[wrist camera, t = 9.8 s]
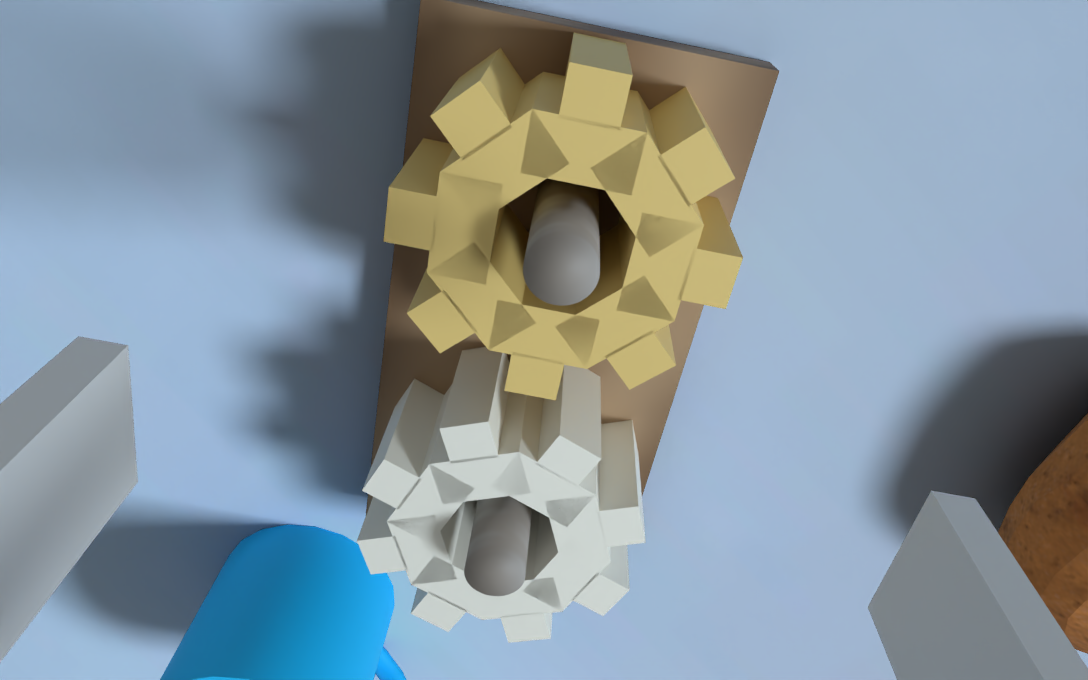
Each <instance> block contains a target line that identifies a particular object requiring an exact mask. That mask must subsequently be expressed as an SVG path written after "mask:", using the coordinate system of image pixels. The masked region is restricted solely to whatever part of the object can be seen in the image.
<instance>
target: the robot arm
mask: <svg viewBox="0 0 1088 680" xmlns="http://www.w3.org/2000/svg"><path fill="white" fill-rule="evenodd" d="M137 482H138V478H137V464H136V450H135V436H134V422H133V408H132V394H131V380H130V366H129V352H128V345H123V344H118V343H112V342H107V341H101V340H95V339H90V338H84V337H79V336H78V337H77V338H76V339H75V340H74V341H72V342H71V343H70V344H69V345H68V346H67V347H65V348H64V349H63V350H62V351H61V352H60V353H59V354H57V355H56V356H55V357H54V358H53V359H52V360H50V361H49V362H48V363H47V364H46V365H45V366H44V367H42V368H41V369H40V370H39V371H38V372H37V373H35V374H34V375H33V376H32V377H31V378H30V379H29V380H27V381H26V382H25V383H24V384H23V385H22V386H21V387H19V388H18V389H17V390H16V391H15V392H14V393H12V394H11V395H10V396H9V397H8V398H7V399H6V400H4V401H3V402H2V403H1V404H0V662H1V661H2V660H3V658H4V657H5V656H6V655H7V653H8V652H9V651H10V649H11V648H12V647H13V645H14V644H15V643H16V641H17V640H18V639H19V637H20V636H21V635H22V633H23V632H24V631H25V630H26V628H27V627H28V626H29V624H30V623H31V622H32V620H33V619H34V618H35V616H36V615H37V614H38V612H39V611H40V610H41V609H42V607H43V606H44V605H45V603H46V602H47V601H48V599H49V598H50V597H51V595H52V594H53V593H54V591H55V590H56V589H57V588H58V586H59V585H60V584H61V582H62V581H63V580H64V578H65V577H66V576H67V574H68V573H69V572H70V570H71V569H72V568H73V566H74V565H75V564H76V563H77V561H78V560H79V559H80V557H81V556H82V555H83V553H84V552H85V551H86V549H87V548H88V547H89V545H90V544H91V543H92V542H93V540H94V539H95V538H96V536H97V535H98V534H99V532H100V531H101V530H102V528H103V527H104V526H105V524H106V523H107V522H108V521H109V519H110V518H111V517H112V515H113V514H114V513H115V511H116V510H117V509H118V507H119V506H120V505H121V503H122V502H123V501H124V499H125V498H126V497H127V496H128V494H129V493H130V492H131V490H132V489H133V488H134V486H135V485H136V484H137ZM868 609H869V612H870V614H871V616H872V619H873V621H874V624H875V626H876V629H877V631H878V634H879V636H880V639H881V641H882V644H883V646H884V648H885V651H886V653H887V656H888V658H889V661H890V663H891V666H892V668H893V671H894V673H895V675H896V678H897V680H1088V668H1087V667H1086V665H1085V664H1084V662H1083V661H1082V659H1081V658H1080V656H1079V655H1078V653H1077V652H1076V650H1075V649H1074V647H1073V646H1072V644H1071V642H1070V641H1069V639H1068V638H1067V636H1066V635H1065V633H1064V632H1063V630H1062V629H1061V627H1060V626H1059V624H1058V623H1057V621H1056V620H1055V618H1054V617H1053V615H1052V614H1051V612H1050V611H1049V609H1048V608H1047V606H1046V605H1045V603H1044V602H1043V600H1042V599H1041V597H1040V596H1039V594H1038V593H1037V591H1036V590H1035V588H1034V587H1033V585H1032V583H1031V582H1030V580H1029V579H1028V577H1027V576H1026V574H1025V573H1024V571H1023V570H1022V568H1021V567H1020V565H1019V564H1018V562H1017V561H1016V559H1015V558H1014V556H1013V555H1012V553H1011V552H1010V550H1009V549H1008V547H1007V546H1006V544H1005V543H1004V541H1003V540H1002V538H1001V537H1000V535H999V534H998V532H997V531H996V529H995V528H994V526H993V525H992V523H991V521H990V520H989V518H988V517H987V515H986V514H985V512H984V511H983V509H982V508H981V506H980V505H979V503H978V502H977V500H976V499H975V498H970V497H964V496H959V495H953V494H948V493H942V492H936V491H931V492H930V494H929V496H928V497H927V499H926V501H925V503H924V505H923V507H922V508H921V510H920V512H919V514H918V516H917V518H916V519H915V521H914V523H913V525H912V527H911V529H910V530H909V532H908V534H907V536H906V538H905V540H904V541H903V543H902V545H901V547H900V549H899V551H898V552H897V554H896V556H895V558H894V560H893V562H892V563H891V565H890V567H889V569H888V571H887V573H886V575H885V576H884V578H883V580H882V582H881V584H880V586H879V587H878V589H877V591H876V593H875V595H874V597H873V598H872V600H871V602H870V604H869V606H868Z"/></svg>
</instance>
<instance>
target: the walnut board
mask: <svg viewBox="0 0 1088 680" xmlns="http://www.w3.org/2000/svg"><path fill="white" fill-rule="evenodd" d="M574 32H575V33H579V34H584V35H589V36H594V37H598V38H603V39H608V40H613V41H617V42H622V43H626V46H627V51H628V56H629V60H630V65H631V69H632V74H633V77H632V81H631V85H630V89H629V90H634V91H638V93H639V94H640V96H641V98H642V99H643V101H644V103H645V104H646V106H647V108H648V109H649V110H650V109H652V108H653V107H655V106H656V105H658V104H660V103H661V102H663V101H664V100H666V99H667V98H669V97H670V96H672V95H673V94H675V93H677V92H678V91H680V90H681V89H683V88H684V87H686V88H687V90H688V91H689V93H690V95H691V97H692V98H693V100H694V102H695V103H696V105H697V107H698V109H699V110H700V112H701V114H702V116H703V117H704V119H705V121H706V123H707V124H708V126H709V128H710V129H711V131H712V133H713V135H714V137H715V139H716V141H717V143H718V145H719V147H720V149H721V151H722V153H723V155H724V157H725V159H726V161H727V163H728V165H729V167H730V169H731V171H732V173H733V175H734V177H735V179H734V180H732V181H730V182H729V183H727V184H725V185H724V186H722V187H720V188H718V189H717V190H715V191H713V192H712V193H710V194H708V195H707V196H710V197H715V198H718V199H719V201H720V204H721V206H722V209H723V211H724V213H725V216H726V218H727V221H728V223H729V225H730V222H731V219H732V216H733V213H734V210H735V207H736V204H737V201H738V197H739V194H740V191H741V188H742V185H743V182H744V179H745V176H746V173H747V170H748V166H749V163H750V160H751V157H752V154H753V151H754V148H755V145H756V142H757V139H758V136H759V132H760V129H761V126H762V123H763V120H764V117H765V114H766V111H767V108H768V105H769V101H770V98H771V95H772V92H773V89H774V86H775V83H776V80H777V77H778V74H779V70H778V69H776V68H775V67H774V66H773V65H772V64H771V63H770V62H766V61H761V60H757V59H752V58H747V57H742V56H738V55H733V54H728V53H723V52H719V51H714V50H709V49H705V48H700V47H695V46H690V45H686V44H681V43H676V42H671V41H667V40H662V39H657V38H653V37H648V36H643V35H638V34H634V33H629V32H624V31H619V30H615V29H610V28H605V27H601V26H596V25H591V24H586V23H582V22H577V21H572V20H567V19H563V18H558V17H553V16H549V15H544V14H539V13H534V12H530V11H525V10H520V9H515V8H511V7H506V6H501V5H497V4H492V3H487V2H482V1H478V0H421V1H420V10H419V20H418V29H417V38H416V48H415V57H414V67H413V76H412V85H411V95H410V104H409V114H408V123H407V132H406V142H405V151H404V161H403V166H404V165H405V164H406V162H407V161H408V159H409V158H410V157H411V155H412V154H413V152H414V151H415V149H416V148H417V147H418V145H419V144H420V142H421V141H422V140H423V138H425V139H430V140H435V141H440V142H445V143H449V141H448V140H447V139H446V137H445V136H444V134H443V133H442V132H441V130H440V129H439V128H438V126H437V125H436V123H435V122H434V121H433V119H432V118H431V117H430V116H431V114H432V113H433V112H434V110H435V109H436V108H437V106H438V105H439V104H440V102H441V101H442V100H443V98H444V97H445V96H446V94H447V93H448V92H449V90H450V89H451V88H452V86H453V85H454V84H455V82H456V81H457V80H458V78H459V77H461V76H462V75H464V74H465V73H466V72H468V71H469V70H470V69H472V68H473V67H475V66H476V65H477V64H479V63H480V62H482V61H483V60H484V59H486V58H487V57H488V56H490V55H491V54H493V53H494V52H495V51H497V50H498V49H500V48H501V49H502V51H503V52H504V54H505V55H506V57H507V58H508V60H509V61H510V63H511V64H512V66H513V67H514V69H515V70H516V72H517V73H518V75H519V76H520V78H521V79H522V81H523V82H524V84H526V83H528V82H529V81H530V80H532V79H533V78H535V77H536V76H538V75H539V74H541V73H542V72H547V73H552V74H557V75H562V76H565V75H566V70H567V64H568V59H569V54H570V49H571V44H572V39H573V34H574ZM508 205H509V207H510V208H511V209H512V211H513V212H514V213H515V215H516V216H517V218H518V219H519V220H520V222H521V223H522V225H523V226H524V227H525V229H526V230H527V232H528V233H529V238H528V243H527V248H526V253H525V259H524V264H523V275H524V280H525V282H526V285H527V286H528V288H529V290H530V291H531V292H532V293H533V294H534V295H535V296H536V297H537V298H539V299H540V300H542V301H544V302H546V303H549V304H553V305H559V306H565V305H571V304H575V303H578V302H580V301H582V300H583V299H585V298H586V297H588V296H589V295H590V294H591V293H592V292H593V290H594V289H595V287H596V285H597V283H598V280H599V276H600V240H599V236H600V235H602V234H604V233H605V232H607V231H609V230H610V229H612V228H614V227H615V226H617V225H618V222H619V218H620V214H621V213H620V212H619V210H618V209H617V207H616V206H615V204H614V203H613V201H612V200H611V198H610V197H609V195H608V194H607V192H606V191H605V190H602V189H597V188H592V187H587V186H582V185H577V184H573V183H568V182H563V181H558V180H553V179H548V178H547V179H545V180H543V181H542V182H540V183H539V184H537V185H536V186H534V187H533V188H531V189H530V190H528V191H526V192H525V193H523V194H522V195H520V196H519V197H517V198H516V199H514V200H512V201H511V202H509V203H508ZM428 259H429V250H424V249H419V248H414V247H409V246H404V245H399V244H395V245H394V255H393V264H392V274H391V283H390V292H389V302H388V311H387V321H386V330H385V339H384V349H383V358H382V368H381V377H380V386H379V396H378V405H377V415H376V424H375V433H374V443H373V452H372V462H371V466H372V464H373V461H374V459H375V456H376V454H377V451H378V449H379V446H380V443H381V441H382V438H383V436H384V433H385V431H386V428H387V426H388V423H389V420H390V418H391V415H392V413H393V410H394V408H395V406H396V405H397V403H398V402H399V400H400V399H401V397H402V396H403V394H404V393H405V391H406V390H407V389H408V387H409V386H410V384H411V383H412V381H413V380H414V378H415V379H416V380H418V381H420V382H422V383H423V384H425V385H427V386H429V387H431V388H432V389H434V390H436V391H438V392H439V393H441V394H443V395H445V393H446V392H447V390H448V389H449V388H450V386H451V385H452V383H453V380H454V377H455V373H456V370H457V366H458V363H459V359H460V356H461V353H462V350H468V349H474V348H481V347H486V346H485V345H484V344H483V343H482V341H481V340H480V339H479V338H478V336H477V335H476V334H475V333H474V334H472V335H470V336H469V337H467V338H465V339H464V340H462V341H460V342H459V343H457V344H455V345H453V346H452V347H450V348H448V349H447V350H445V351H443V352H442V353H439V352H438V350H437V349H436V348H435V347H434V346H433V344H432V343H431V342H430V341H429V340H428V338H427V337H426V336H425V335H424V334H423V332H422V331H421V330H420V329H419V328H418V326H417V325H416V324H415V323H414V322H413V320H412V319H411V318H410V317H409V316H408V314H407V311H408V309H409V307H410V304H411V302H412V300H413V298H414V296H415V293H416V291H417V289H418V287H419V284H420V282H421V280H422V278H423V276H424V273H425V271H426V269H427V267H428ZM703 306H704V305H703V304H698V303H693V302H688V301H683V300H681V302H680V305H679V308H678V312H677V315H676V318H675V321H674V322H672V323H671V324H669V328H670V334H671V340H672V345H673V351H674V357H675V362H676V366H674V367H672V368H670V369H668V370H666V371H664V372H663V373H661V374H659V375H657V376H655V377H653V378H651V379H649V380H647V381H645V382H644V383H642V384H640V385H638V386H636V387H634V388H632V389H630V390H629V388H628V387H627V386H626V384H625V383H624V382H623V380H622V379H621V377H620V376H619V375H618V373H617V372H616V371H615V369H614V368H613V366H612V365H611V364H610V362H609V361H608V360H607V358H606V359H605V360H603V361H601V362H599V363H597V364H595V365H594V366H592V367H590V368H588V370H590V371H591V372H593V373H595V374H596V375H598V376H600V384H601V424H605V423H613V422H620V421H627V420H632V422H633V427H634V433H635V438H636V443H637V449H638V455H639V468H640V480H641V493H642V495H643V492H644V488H645V485H646V482H647V479H648V476H649V473H650V470H651V467H652V464H653V461H654V457H655V454H656V451H657V448H658V445H659V442H660V439H661V436H662V433H663V430H664V426H665V423H666V420H667V417H668V414H669V411H670V408H671V405H672V402H673V399H674V396H675V392H676V389H677V386H678V383H679V380H680V377H681V374H682V371H683V368H684V365H685V361H686V358H687V355H688V352H689V349H690V346H691V343H692V340H693V337H694V334H695V331H696V327H697V324H698V321H699V318H700V315H701V312H702V309H703ZM507 357H508V361H509V362H510V357H511V354H507ZM372 499H373V496H371V495H369V494H368V499H367V509H366V515H367V512H368V509H369V507H370V504H371V501H372ZM531 515H532V508H531V507H529V506H527V505H525V504H523V503H521V502H520V501H518V500H516V499H514V498H512V497H510V496H505V497H497V498H489V499H482V500H478V501H477V506H476V511H475V516H474V522H473V527H472V532H471V537H470V542H469V547H468V553H467V558H466V563H465V568H464V575H465V578H466V581H467V582H468V584H469V585H470V586H471V587H472V588H473V589H475V590H476V591H478V592H480V593H482V594H485V595H489V596H505V595H509V594H511V593H514V592H515V591H517V590H518V589H519V588H520V587H521V586H522V585H523V583H524V580H525V574H526V564H527V555H528V545H529V535H530V525H531Z"/></svg>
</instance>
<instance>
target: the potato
mask: <svg viewBox="0 0 1088 680" xmlns="http://www.w3.org/2000/svg"><path fill="white" fill-rule="evenodd" d="M998 534H999V535H1000V537H1001V538H1002V540H1003V541H1004V543H1005V544H1006V546H1007V547H1008V549H1009V550H1010V552H1011V553H1012V555H1013V556H1014V558H1015V559H1016V561H1017V562H1018V564H1019V565H1020V567H1021V568H1022V570H1023V571H1024V573H1025V574H1026V576H1027V577H1028V579H1029V580H1030V582H1031V583H1032V585H1033V587H1034V588H1035V590H1036V591H1037V593H1038V594H1039V596H1040V597H1041V599H1042V600H1043V602H1044V603H1045V605H1046V606H1047V608H1048V609H1049V611H1050V612H1051V614H1052V615H1053V617H1054V618H1055V620H1056V621H1057V623H1058V624H1059V626H1060V627H1061V629H1062V630H1063V632H1064V633H1065V635H1066V636H1067V638H1068V639H1069V641H1070V642H1071V644H1072V646H1073V647H1074V649H1076V650H1079V651H1082V652H1085V653H1087V654H1088V413H1087V414H1086V415H1085V417H1084V418H1083V419H1082V420H1081V421H1080V422H1079V423H1078V424H1077V425H1076V426H1075V427H1074V428H1073V429H1072V430H1071V431H1070V432H1069V433H1068V435H1067V436H1066V437H1065V438H1064V439H1063V440H1062V441H1061V442H1060V443H1059V444H1058V445H1057V446H1056V447H1055V449H1054V450H1053V451H1052V452H1051V453H1050V454H1049V455H1048V456H1047V457H1046V458H1045V459H1044V461H1043V462H1042V463H1041V464H1040V465H1039V466H1038V467H1037V468H1036V470H1035V471H1034V472H1033V473H1032V474H1031V475H1030V477H1029V478H1028V479H1027V481H1026V482H1025V484H1024V485H1023V487H1022V488H1021V490H1020V491H1019V493H1018V494H1017V496H1016V497H1015V499H1014V500H1013V502H1012V503H1011V505H1010V506H1009V509H1008V511H1007V513H1006V515H1005V518H1004V520H1003V522H1002V524H1001V526H1000V529H999V531H998Z"/></svg>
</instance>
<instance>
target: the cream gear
mask: <svg viewBox="0 0 1088 680" xmlns="http://www.w3.org/2000/svg"><path fill="white" fill-rule="evenodd" d="M508 368H509V361H508V357H507V354H506V353H501V352H495V351H490V350H488V349H487V348H486V347H481V348H474V349H468V350H462V353H461V356H460V359H459V363H458V366H457V370H456V373H455V377H454V380H453V383H452V385H451V386H450V388H449V389H448V390H447V392H446V393H445V395H443V394H441V393H439V392H438V391H436V390H434V389H432V388H431V387H429V386H427V385H425V384H423V383H422V382H420V381H418V380H416V379H415V378H414V380H413V381H412V383H411V384H410V386H409V387H408V389H407V390H406V391H405V393H404V394H403V396H402V397H401V399H400V400H399V402H398V403H397V405H396V406H395V408H394V410H393V413H392V415H391V418H390V420H389V423H388V426H387V428H386V431H385V433H384V436H383V438H382V441H381V443H380V446H379V449H378V451H377V454H376V456H375V459H374V461H373V464H372V466H371V469H370V471H369V474H368V477H367V479H366V482H365V484H364V487H363V489H362V491H364V492H366V493H367V494H369V495H371V496H373V499H372V501H371V504H370V507H369V509H368V512H367V515H366V518H365V520H364V523H363V526H362V528H361V531H360V534H359V537H358V539H357V542H358V545H359V547H360V549H361V552H362V554H363V557H364V559H365V562H366V564H367V566H368V569H369V571H370V574H379V573H388V572H397V571H405V570H406V572H407V575H408V578H409V580H410V583H411V585H413V586H415V587H417V591H416V595H415V599H414V603H413V607H412V611H411V614H413V615H415V616H417V617H419V618H421V619H423V620H425V621H427V622H429V623H431V624H433V625H435V626H437V627H439V628H441V629H443V630H445V631H447V632H449V631H450V630H451V628H452V627H453V626H454V625H455V624H456V623H457V622H458V621H459V619H460V618H461V617H462V616H463V615H464V614H465V613H466V612H467V613H469V614H471V615H473V616H475V617H477V618H479V619H481V620H487V619H497V618H501V621H502V624H503V627H504V630H505V633H506V636H507V639H508V642H509V643H510V642H520V641H530V640H540V639H550V638H551V626H552V613H554V612H563V610H564V609H565V608H566V607H567V606H568V605H569V604H570V603H571V602H572V601H575V602H577V603H579V604H581V605H583V606H585V607H587V608H589V609H590V610H592V611H594V612H596V613H598V614H600V615H602V616H604V615H605V614H606V613H607V612H608V611H609V610H610V609H611V608H612V607H613V606H614V605H615V604H616V603H617V602H618V601H619V600H620V599H621V598H622V597H623V596H624V595H625V594H626V593H627V592H628V591H629V572H628V552H627V545H630V544H638V543H645V530H644V518H643V505H642V493H641V480H640V468H639V455H638V449H637V443H636V438H635V433H634V427H633V422H632V420H627V421H620V422H613V423H605V424H601V384H600V376H598V375H596V374H595V373H593V372H591V371H590V370H588V369H584V368H579V367H573V366H568V365H564V368H563V372H562V376H561V380H560V385H559V389H558V393H557V397H556V400H551V399H545V398H540V397H535V396H530V395H524V394H519V393H514V392H509V391H504V390H505V384H506V379H507V373H508ZM505 496H510V497H512V498H514V499H516V500H518V501H520V502H521V503H523V504H525V505H527V506H529V507H531V508H532V515H531V525H530V535H529V545H528V555H527V564H526V574H525V580H524V583H523V585H522V586H521V587H520V588H519V589H518V590H517V591H515V592H514V593H511V594H509V595H505V596H489V595H485V594H482V593H480V592H478V591H476V590H475V589H473V588H472V587H471V586H470V585H469V584H468V582H467V581H466V578H465V575H464V568H465V563H466V558H467V553H468V547H469V542H470V537H471V532H472V527H473V522H474V516H475V511H476V506H477V501H478V500H482V499H489V498H497V497H505Z"/></svg>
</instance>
